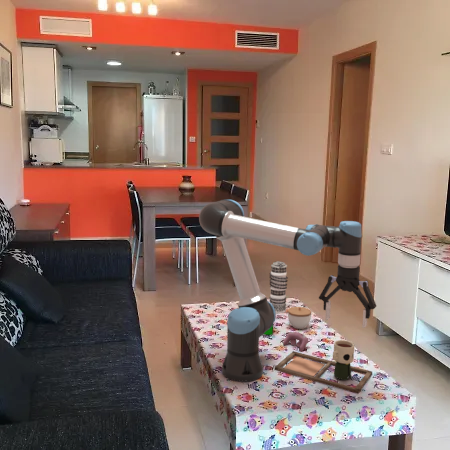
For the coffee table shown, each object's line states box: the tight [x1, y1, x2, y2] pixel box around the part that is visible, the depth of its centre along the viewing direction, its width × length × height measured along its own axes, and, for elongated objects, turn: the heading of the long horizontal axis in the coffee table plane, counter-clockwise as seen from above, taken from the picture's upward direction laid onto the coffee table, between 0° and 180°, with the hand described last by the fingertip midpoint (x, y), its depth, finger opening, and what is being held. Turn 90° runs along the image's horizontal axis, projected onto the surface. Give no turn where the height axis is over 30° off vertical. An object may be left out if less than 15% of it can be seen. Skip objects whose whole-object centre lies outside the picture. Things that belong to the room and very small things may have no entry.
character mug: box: [332, 339, 355, 381], centre depth 179 cm, size 11×7×13 cm, turn 125°
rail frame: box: [273, 351, 373, 394], centre depth 184 cm, size 17×32×1 cm, turn 58°
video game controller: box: [282, 331, 309, 352], centre depth 206 cm, size 10×5×7 cm, turn 48°
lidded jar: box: [287, 306, 312, 330], centre depth 228 cm, size 11×11×9 cm
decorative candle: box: [269, 261, 289, 314], centre depth 248 cm, size 9×9×25 cm
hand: (345, 322), depth 177 cm, fingers open, 13 cm apart
